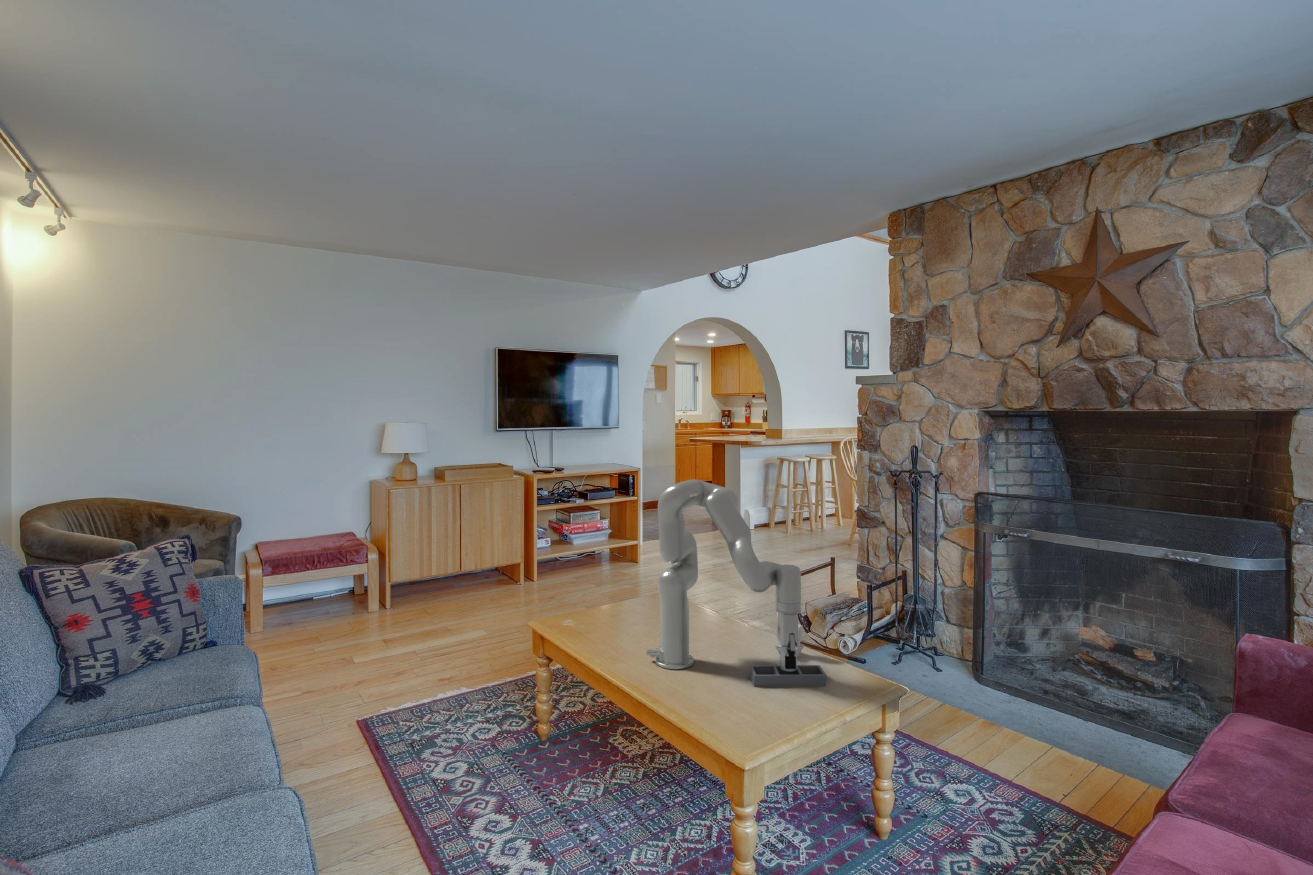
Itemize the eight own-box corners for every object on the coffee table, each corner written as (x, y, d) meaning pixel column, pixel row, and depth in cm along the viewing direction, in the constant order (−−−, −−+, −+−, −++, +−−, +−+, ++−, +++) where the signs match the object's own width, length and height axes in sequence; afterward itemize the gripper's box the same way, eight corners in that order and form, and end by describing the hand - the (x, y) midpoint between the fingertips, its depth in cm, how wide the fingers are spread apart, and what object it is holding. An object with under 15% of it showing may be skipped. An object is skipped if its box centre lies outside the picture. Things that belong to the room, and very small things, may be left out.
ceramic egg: (781, 671, 195) (781, 647, 194) (778, 665, 200) (778, 641, 199) (798, 671, 195) (798, 646, 194) (794, 664, 200) (794, 640, 199)
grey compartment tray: (754, 686, 193) (754, 675, 193) (750, 675, 201) (750, 665, 201) (826, 686, 194) (826, 675, 194) (819, 675, 201) (819, 664, 201)
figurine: (796, 662, 212) (796, 617, 211) (771, 655, 218) (772, 611, 217) (807, 656, 217) (807, 612, 216) (783, 649, 223) (783, 606, 223)
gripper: (770, 598, 205) (770, 654, 206) (781, 615, 188) (781, 676, 189) (794, 597, 205) (794, 654, 206) (807, 614, 188) (807, 676, 189)
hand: (788, 664), depth 197 cm, fingers closed on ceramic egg, 5 cm apart
